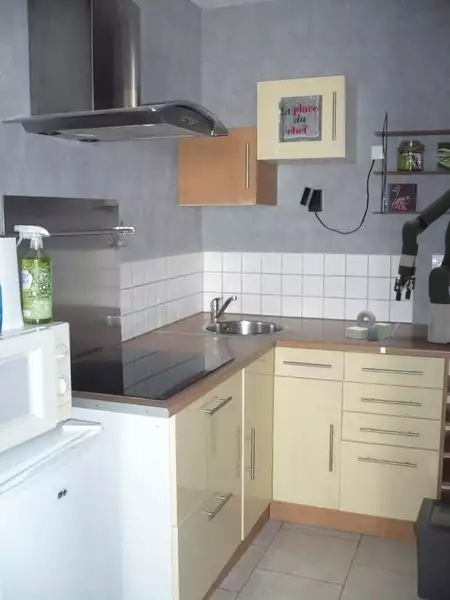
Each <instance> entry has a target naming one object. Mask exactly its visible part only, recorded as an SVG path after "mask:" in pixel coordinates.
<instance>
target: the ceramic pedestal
mask: <svg viewBox="0 0 450 600" xmlns="http://www.w3.org/2000/svg"><path fill="white" fill-rule="evenodd" d="M367 335H368V328H363V327H359V326H355V325H354V326H351V327H347V328H346V327H345V335H344V336H345V337H344V338H348V337H349V339H354V340H364V339H365V340H366V339H367Z"/></svg>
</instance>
